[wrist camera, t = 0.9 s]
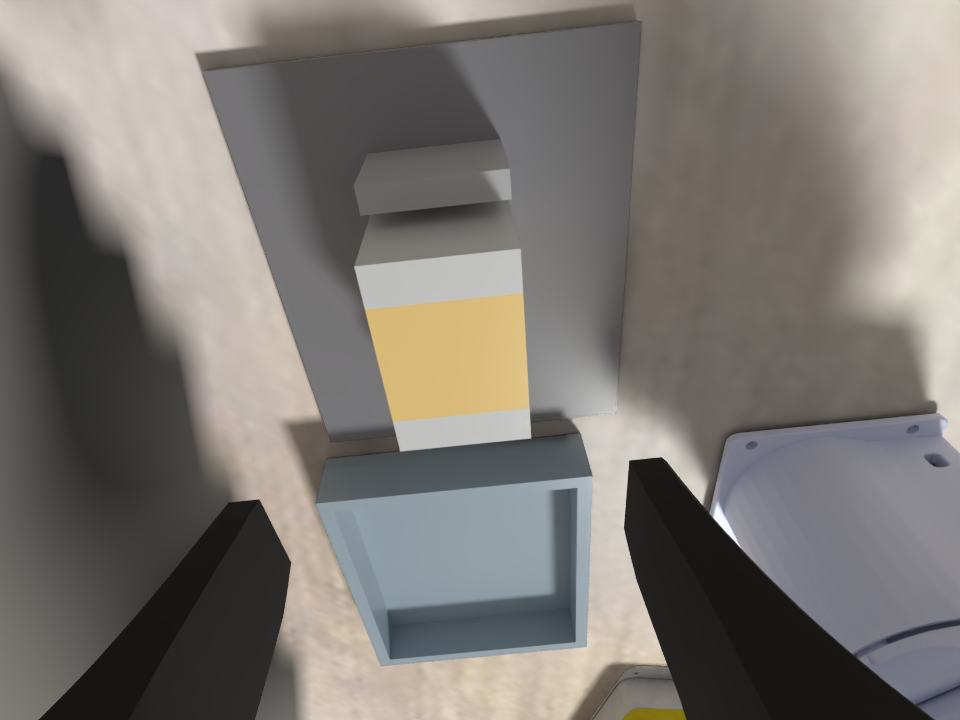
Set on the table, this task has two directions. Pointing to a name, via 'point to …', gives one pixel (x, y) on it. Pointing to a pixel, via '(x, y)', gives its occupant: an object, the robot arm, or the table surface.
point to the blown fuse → (448, 323)
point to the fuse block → (445, 193)
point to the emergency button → (642, 696)
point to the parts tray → (465, 546)
